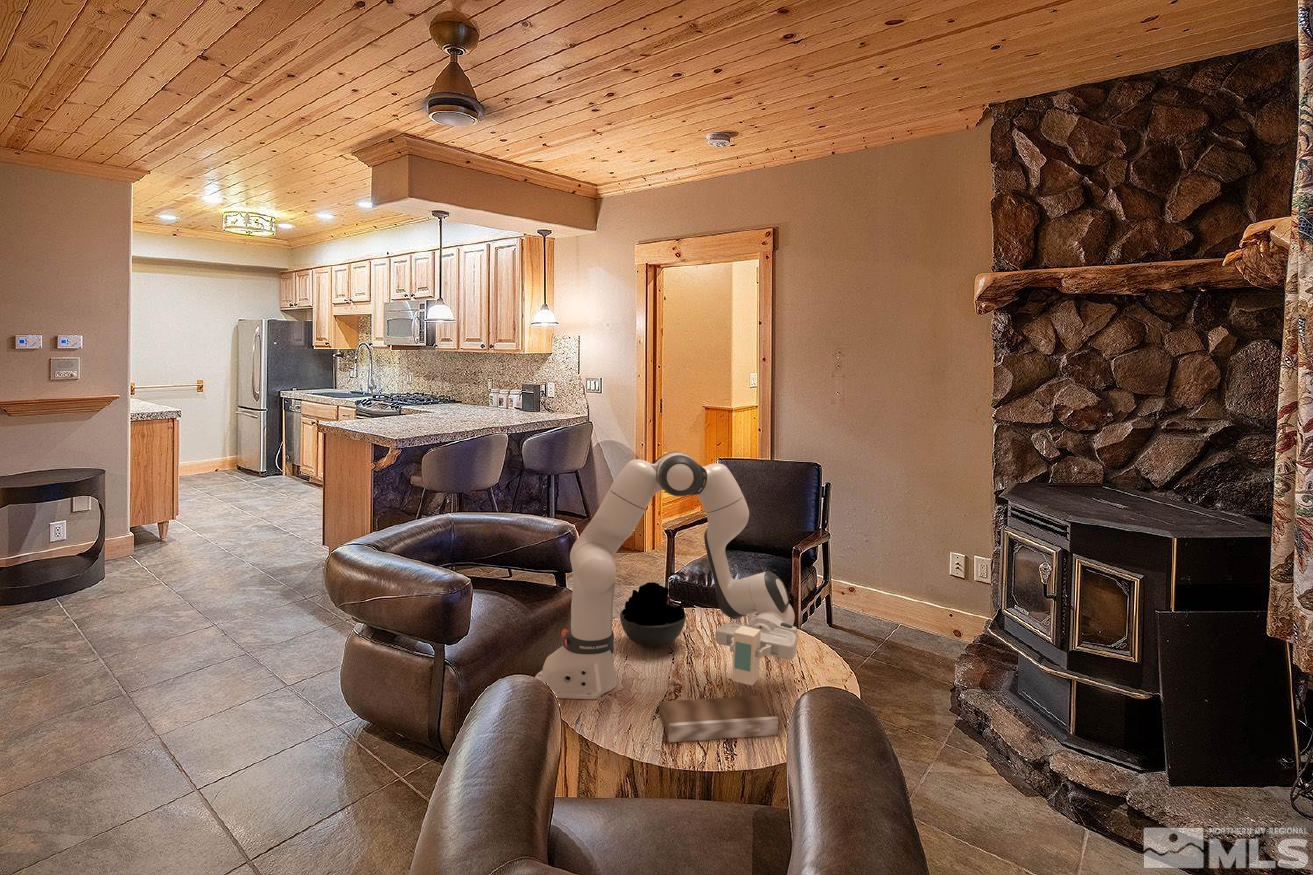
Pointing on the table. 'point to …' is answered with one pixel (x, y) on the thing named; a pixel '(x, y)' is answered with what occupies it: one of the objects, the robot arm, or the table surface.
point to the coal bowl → (652, 617)
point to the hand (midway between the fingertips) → (745, 651)
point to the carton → (746, 655)
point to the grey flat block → (717, 718)
